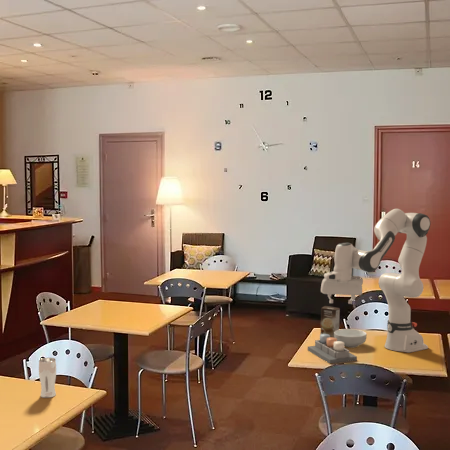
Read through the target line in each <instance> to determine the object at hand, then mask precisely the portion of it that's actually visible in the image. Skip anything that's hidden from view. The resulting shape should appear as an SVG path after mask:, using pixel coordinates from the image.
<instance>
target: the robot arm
mask: <svg viewBox="0 0 450 450" xmlns="http://www.w3.org/2000/svg"><path fill="white" fill-rule="evenodd" d="M430 227H431V218H429V216H428V215H426V214H425V213H419V212H418V213H417V212H405V211H404V210H402V209H400V208H393V209H391V210H389V211H388V212H387V213H386V214H385V215H383V216H382V217H381V218H380V219H379V220H378V221H377V222H376V223H375V225H374V229H373V231H374V235H375V237H376V238H377V240H379V241H378V243H376V245H375V246H374V248H373V249H371V250H363V249H362V250H361V249H359V248H357V247H355V246H354V245H353V243H350V242H340V243H338V244H337V245H336V247H335V250H334V251H335V252H334V256H333V257H334V258H333V259H334V260H333V261H334V267H333V271H330V272H324V274H323V277H324V278H323V279H322V281H321V284H320V285H321V286H320V293H322V294H323V295H327V297H328V299H329V301H328V302H329V304H334V299H332V298H331V297H332V295H338V296H339V295H341V296H344V295H345V296H350V297H351V298H350V299H348V300H347V301H348V302H347V303H348V305H353V301H354V299H355V298H356V296H361V295H362V294H363V282H364V280H363V277H361V276H355V275H354V276H353V275H352V273H353V269H354V270H355V269H356V270H360V271H363V272H366V273H373V272H375V271H376V270H377V269H378V268H379V267H380V264H381V262H382V260H383V258H384V257H385V255H386V254H387V253H388V251H389V250H390V248H391V247H392V246H393V244H394V242H395V239H396V236H397V234H406V240H405V241H404V244H403V245H402V249H401V250H400V254H399V257H398V258H397V259H398V260H397V261H398V264H399V266H400V267H401V273H395V272H384V273H382V274H381V275H380V277H379V278H378V286H379V288H380V290H381V291H382V293H383V294H384V296H385V299H386V301H387V305H388V319H387V327H386V328H387V335H386V340H385V344H384V348H386V349H387V350H391V351H396V352H403V353H413V352H419V351H422V350H423V351H424V350H427V349H429V346H428V345H427V344H426V343H424V337H423V335H422V334H420V333H419V332H418V331H417V330H415V328H416V327H417V326H418V323H417V322H413V321H411V312H412V311H411V309H412V308H411V306H410V305H409V303H407V301H406V299H405V298H418V297H420V296H421V295H422V294H423V292H424V283H423V281H422V280H421V278H420V272H419V271H420V266H421V263H422V259H423V257H424V254H425V251H426V247H427V242H428V237H427V234H428V232H429V231H430Z"/></svg>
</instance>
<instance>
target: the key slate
mask: <svg viewBox="0 0 450 450" xmlns="http://www.w3.org/2000/svg"><path fill="white" fill-rule="evenodd" d="M329 337H330V335H329V334H319V340H320V343H322V344H327V338H329Z"/></svg>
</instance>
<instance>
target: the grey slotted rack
mask: <svg viewBox="0 0 450 450" xmlns="http://www.w3.org/2000/svg"><path fill="white" fill-rule="evenodd" d="M307 351H308V352H310V353H311V354H313V355H314V356H316V357H318V358H319V359H320V360H323V361H324V360H325V361H324V362H326V361H327V362H326V363H327V364H329V363H333V364H340V363H341V364H342V363H346V362H357V360H358V356H357V355H355V354H353V353H351V352H350V350H349V349H348V348H346V347H344V351H341V352H336V351H334V347H333V348H329V347H327V344H322V343H320V339H317V340H315V339H314V345H309V346H307Z"/></svg>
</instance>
